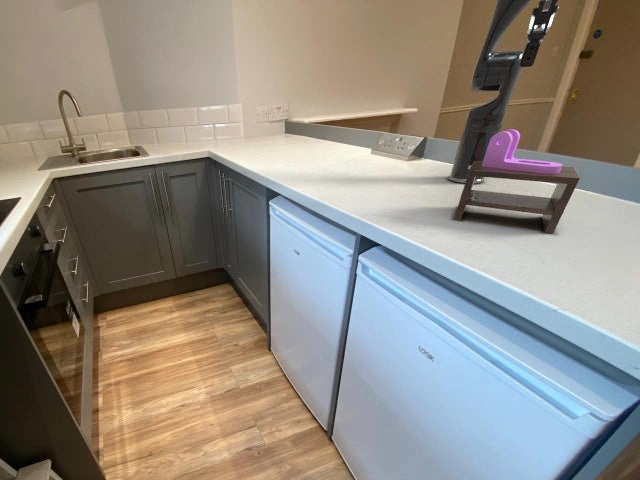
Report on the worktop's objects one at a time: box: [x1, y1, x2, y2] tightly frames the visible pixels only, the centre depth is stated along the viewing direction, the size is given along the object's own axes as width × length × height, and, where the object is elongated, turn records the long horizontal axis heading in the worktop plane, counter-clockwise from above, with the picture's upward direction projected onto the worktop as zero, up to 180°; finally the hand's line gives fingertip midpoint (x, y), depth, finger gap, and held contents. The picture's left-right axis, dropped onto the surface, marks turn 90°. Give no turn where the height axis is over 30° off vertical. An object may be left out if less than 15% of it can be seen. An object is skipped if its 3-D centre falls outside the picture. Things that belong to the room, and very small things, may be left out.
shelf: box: [453, 161, 580, 234], centre depth 75 cm, size 11×18×11 cm, turn 55°
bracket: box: [482, 128, 564, 174], centre depth 70 cm, size 13×6×7 cm, turn 39°
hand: (525, 66), depth 71 cm, fingers open, 8 cm apart
